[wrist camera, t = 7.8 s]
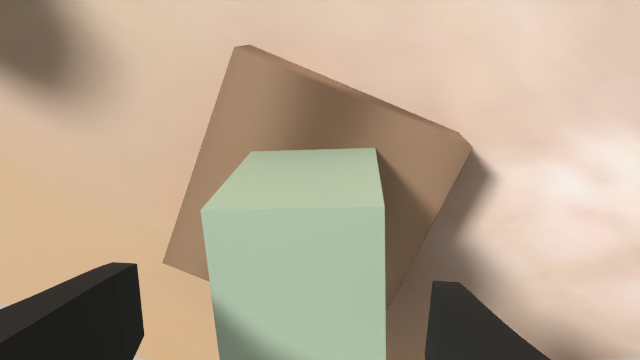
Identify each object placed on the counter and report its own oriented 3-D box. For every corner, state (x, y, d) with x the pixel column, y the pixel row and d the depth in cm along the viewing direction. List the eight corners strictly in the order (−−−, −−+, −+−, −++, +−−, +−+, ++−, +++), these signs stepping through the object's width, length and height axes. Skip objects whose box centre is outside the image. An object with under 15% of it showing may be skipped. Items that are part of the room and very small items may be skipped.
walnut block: (455, 130, 20) (472, 147, 17) (367, 303, 22) (369, 343, 20) (252, 44, 19) (234, 46, 16) (187, 232, 22) (162, 262, 19)
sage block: (375, 147, 17) (384, 206, 11) (376, 261, 18) (386, 365, 13) (251, 151, 17) (200, 210, 12) (261, 262, 19) (220, 363, 13)
